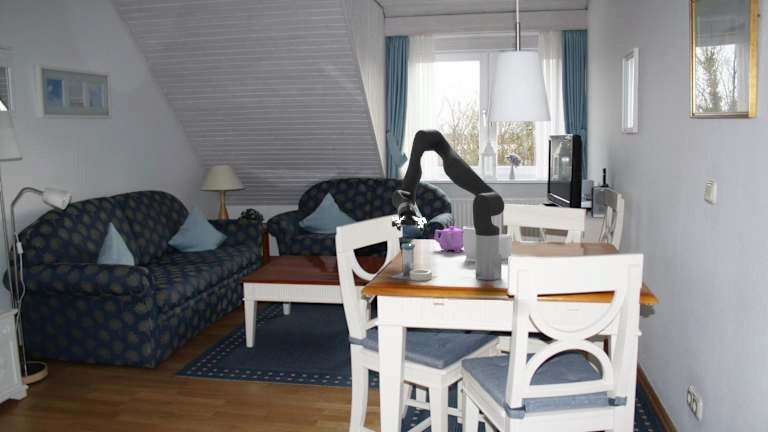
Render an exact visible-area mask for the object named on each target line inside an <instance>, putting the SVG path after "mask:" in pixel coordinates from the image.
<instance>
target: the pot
mask: <svg viewBox="0 0 768 432" xmlns="http://www.w3.org/2000/svg"><path fill="white" fill-rule="evenodd" d="M463 233H464V230H462V229H461V228H457V227H455V225H450V226H448V228H444V229H442V230H441V229H435V231H434V237H433V240H434V241H436V242H437V243H438V244H439V248H440V249H441V250H442V252H444V253H447V252H448V251H449V250H450V251H451V250H452V251H453V250H454V251H453V252H454V253H460V251H462V249H464V247H463ZM439 234H440V237H439Z"/></svg>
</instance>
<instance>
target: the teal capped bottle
mask: <svg viewBox="0 0 768 432" xmlns="http://www.w3.org/2000/svg"><path fill="white" fill-rule="evenodd" d="M415 245H416V244H415V243H402V244H401V248H402V273H403V275H405V276H410V271H412V270H415V247H416V246H415Z"/></svg>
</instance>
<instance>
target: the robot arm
mask: <svg viewBox="0 0 768 432" xmlns="http://www.w3.org/2000/svg"><path fill="white" fill-rule="evenodd" d="M413 137H414V138H413V139H412V140H413V141H412V144H411V151H410V154H409V161H408V165H407V168H406V172H405V173H404V177H403V178H402V179H403V180H402V182H401V188H402V189H404V190H401V189H397V190H395V191H393V194H392V195H391V202H392V204H393V207H394V208H396V209H397V216H398V217H396V216H395V215H392V216H391V227H392V228H394V227H396V230H397V231H399V232H401V231H402V230H401V229H402V228H403V227H405V226H406V227H407V226H409V227H414V228H416V229H417V228H418V231H419V232H420V233H422V232H423V231H424V229H427V225H428V222H427V219H426V217H422V218H419V217H418V216H417V212H416V208H415V205H416V201H417V199H416V196H417V190H418V186H419V184H420V182H421V179H422V175H423V170H422V164H421V162H422V157H423V155H424V153H425V152H435V153H436V154H437V155H438V156H439V157H440V158H441V160H442V167H443V171H444V174H445V175H446V176H447V177H448V178H449V180H451V181H452V183H453V184H455V185H456V186H458V187H460V189H463V190H465V191H467V192H468V193H470V194H472V195H473V196H474V197H473V202H472V221H473V223H472V224H473V226H474V228H475V232H476V262H475V279H478V280H482V281H483V280H487V281H492V280H493V281H495V280H498V279H501V278H502V259H501V253H499V235H500V227H499V226H498V225H495V224H494V223H493V220H492V219H493V218H492V217H497V216H499V215H501V214H502V213H503V212H504V211H505V202H504V200H503V197H502V196H501V195H500V194H499V192H497V191H495V189H493V188H492V187H491V186H490V185H489V184H487V183H486V182H485V181H484V180H483V179H482V178H481V177H480V176H479V174H477V172H475V170H474V169H473V168H472V167H471V166H470V165H469V164H468V163H467V162H466V161H465V160H464V159H463V158H462V156H460V155H459V154H458V152H457V151H456V150H455V149H454V148H453V147H452V146H451V144H450V143H449V141H448V140H447V139H446V137H445V136H444V135H443V133H441V131H439V130H438V129H436V128H425V129H419V130H417V131H416V133H415V134H414V136H413Z"/></svg>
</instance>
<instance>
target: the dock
mask: <svg viewBox="0 0 768 432" xmlns="http://www.w3.org/2000/svg"><path fill="white" fill-rule="evenodd" d="M390 278H392V279H393V278H395V279H401V280H409V281H416V282H423V283H425V282H428V281H430V280H433V279H435V278H436V279H437V278H438V276H436V275H433V272H432V271H431V270H430V269H414V270H412V271H410V276H405V275H403V272H400V273H398V274H394V275H392V276H390Z"/></svg>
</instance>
